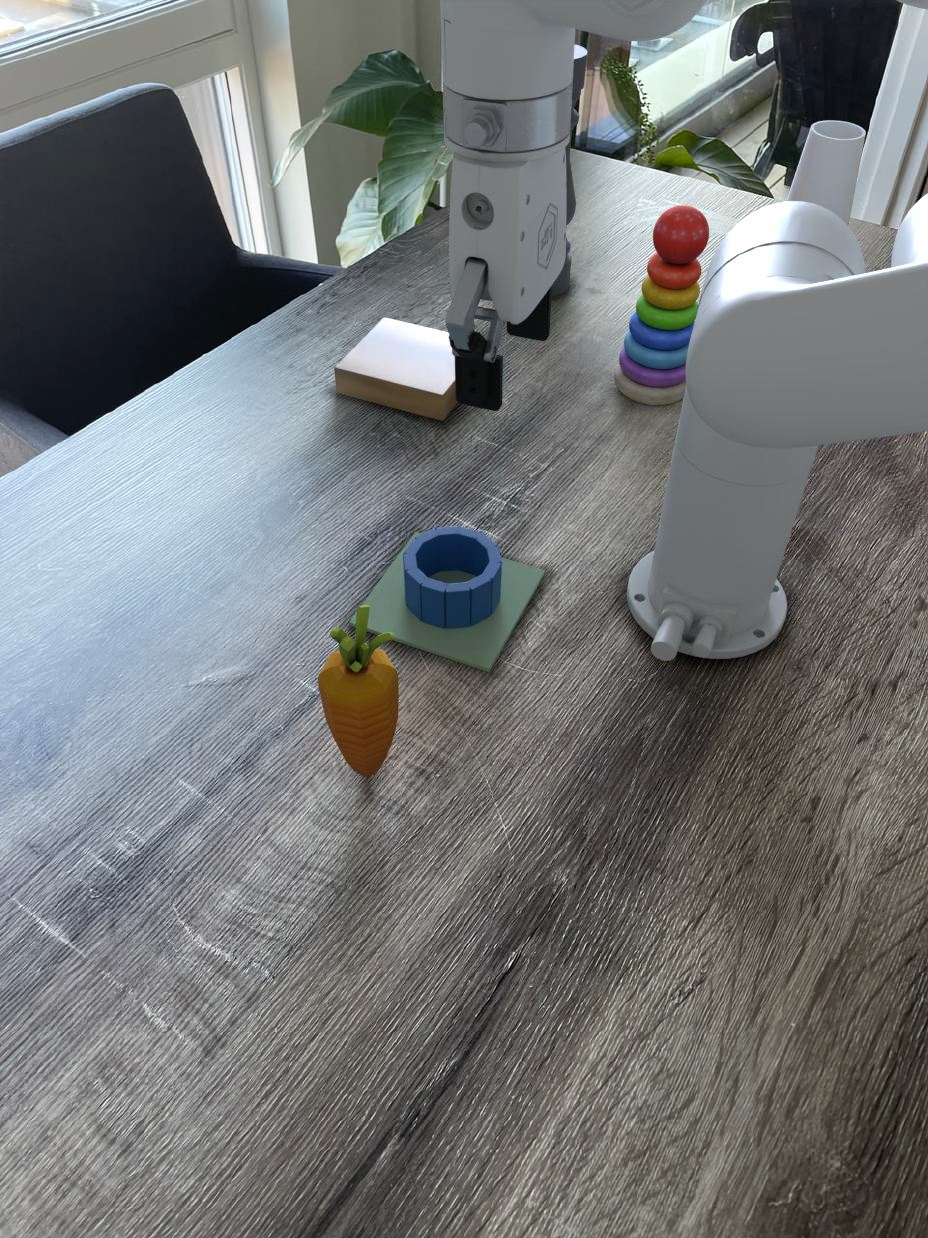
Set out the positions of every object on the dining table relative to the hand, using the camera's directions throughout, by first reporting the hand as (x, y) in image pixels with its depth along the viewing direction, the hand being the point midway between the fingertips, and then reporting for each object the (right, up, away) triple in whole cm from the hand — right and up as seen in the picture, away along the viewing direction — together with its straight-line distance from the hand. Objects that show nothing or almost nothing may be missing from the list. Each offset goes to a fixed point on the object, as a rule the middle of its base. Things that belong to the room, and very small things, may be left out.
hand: (504, 369), depth 71 cm
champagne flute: (+30, +9, +35) cm, 47 cm away
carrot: (-10, -29, -2) cm, 30 cm away
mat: (-4, -16, +10) cm, 19 cm away
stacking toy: (+16, +6, +32) cm, 37 cm away
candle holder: (+6, +22, +47) cm, 53 cm away
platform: (-8, +7, +33) cm, 34 cm away
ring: (-4, -16, +10) cm, 19 cm away
